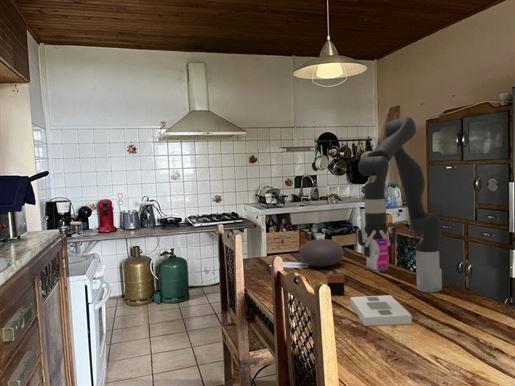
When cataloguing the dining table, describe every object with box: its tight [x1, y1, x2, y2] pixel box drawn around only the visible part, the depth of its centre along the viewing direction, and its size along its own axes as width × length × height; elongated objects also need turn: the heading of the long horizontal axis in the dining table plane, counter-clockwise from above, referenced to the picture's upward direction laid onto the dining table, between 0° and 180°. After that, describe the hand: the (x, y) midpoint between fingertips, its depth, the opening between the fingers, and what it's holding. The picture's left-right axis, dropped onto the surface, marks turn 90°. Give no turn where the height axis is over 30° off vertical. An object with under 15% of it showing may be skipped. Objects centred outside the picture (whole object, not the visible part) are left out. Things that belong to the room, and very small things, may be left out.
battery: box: [326, 270, 346, 297], centre depth 171 cm, size 4×7×10 cm, turn 85°
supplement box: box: [366, 238, 389, 272], centre depth 145 cm, size 6×6×12 cm
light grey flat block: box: [349, 294, 413, 327], centre depth 146 cm, size 16×22×3 cm
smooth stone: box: [298, 238, 345, 268], centre depth 223 cm, size 25×25×15 cm
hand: (377, 256), depth 145 cm, fingers closed on supplement box, 6 cm apart
